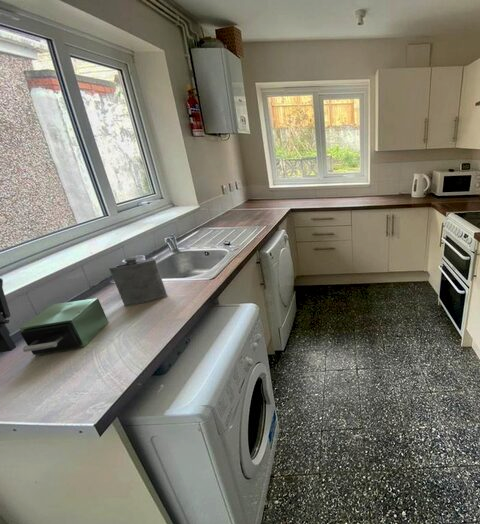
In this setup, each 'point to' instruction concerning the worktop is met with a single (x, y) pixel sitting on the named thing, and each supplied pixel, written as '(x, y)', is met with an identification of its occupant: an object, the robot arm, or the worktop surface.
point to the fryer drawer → (50, 339)
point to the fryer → (73, 319)
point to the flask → (138, 281)
